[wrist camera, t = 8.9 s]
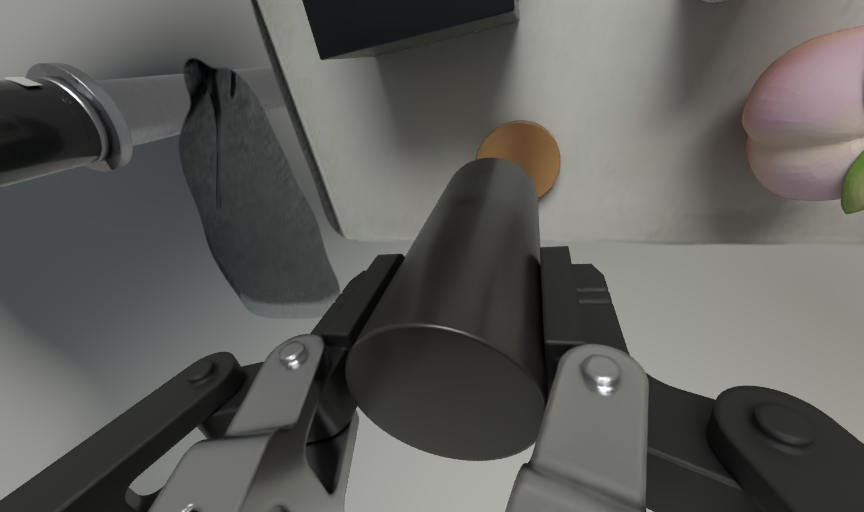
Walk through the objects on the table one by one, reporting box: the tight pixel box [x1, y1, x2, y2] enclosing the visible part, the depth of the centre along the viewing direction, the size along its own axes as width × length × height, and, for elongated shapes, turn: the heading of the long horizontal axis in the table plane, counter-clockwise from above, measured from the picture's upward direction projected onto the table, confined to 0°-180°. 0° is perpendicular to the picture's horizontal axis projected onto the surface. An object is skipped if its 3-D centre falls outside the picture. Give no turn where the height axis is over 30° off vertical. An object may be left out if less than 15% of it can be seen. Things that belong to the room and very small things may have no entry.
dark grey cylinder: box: [345, 157, 548, 461], centre depth 11 cm, size 4×4×10 cm
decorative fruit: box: [742, 26, 864, 214], centre depth 19 cm, size 9×8×10 cm
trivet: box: [476, 121, 560, 198], centre depth 29 cm, size 7×7×1 cm
